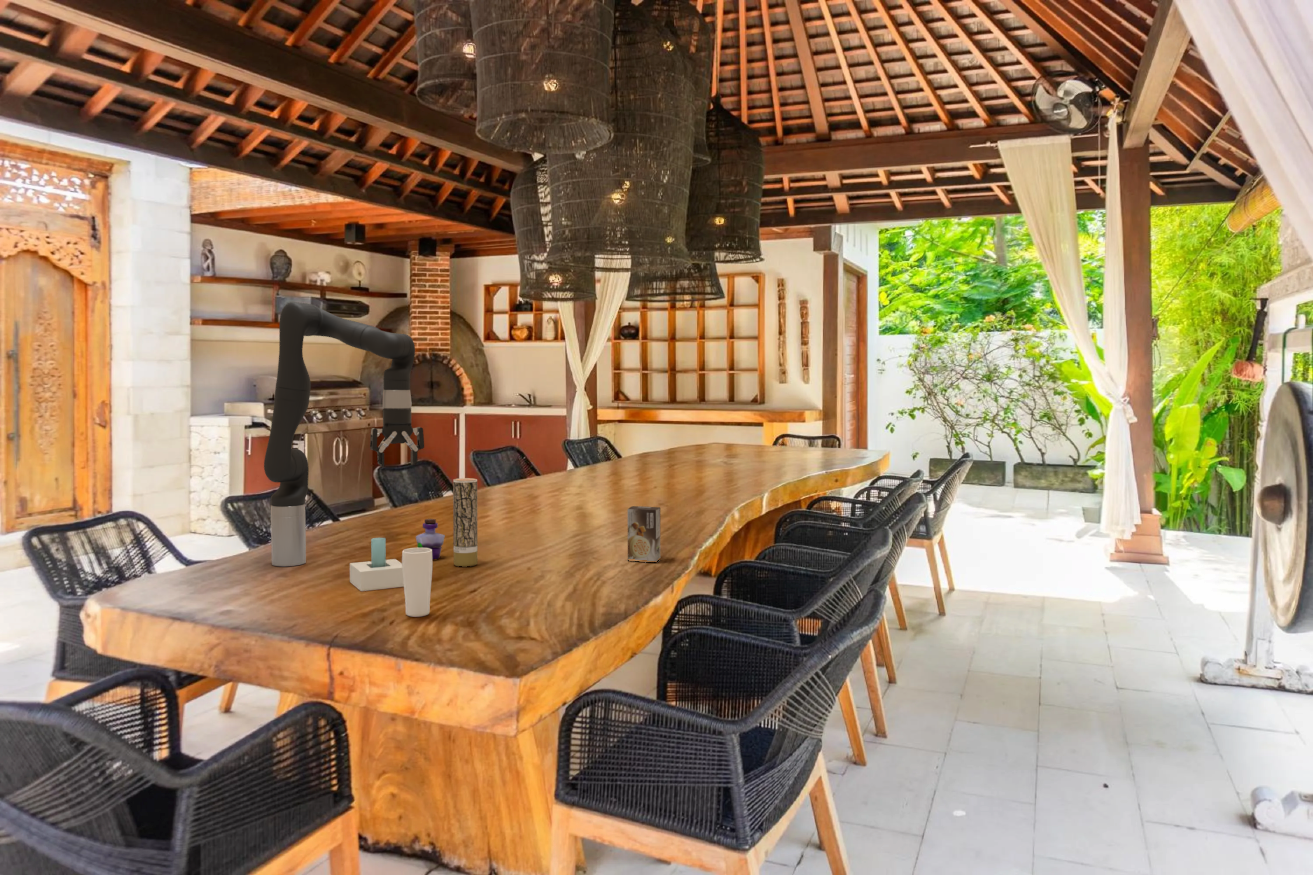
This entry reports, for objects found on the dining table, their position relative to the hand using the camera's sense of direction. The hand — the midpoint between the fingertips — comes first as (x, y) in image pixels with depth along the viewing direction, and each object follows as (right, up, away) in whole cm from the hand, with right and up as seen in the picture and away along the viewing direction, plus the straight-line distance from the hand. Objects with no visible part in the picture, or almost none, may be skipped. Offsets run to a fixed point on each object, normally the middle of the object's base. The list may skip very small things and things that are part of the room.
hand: (397, 465), depth 250 cm
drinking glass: (+16, -33, -40) cm, 55 cm away
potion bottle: (+3, -29, +23) cm, 37 cm away
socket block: (-2, -31, -11) cm, 33 cm away
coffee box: (+68, -30, +23) cm, 77 cm away
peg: (-2, -31, -11) cm, 33 cm away
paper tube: (+16, -30, +14) cm, 36 cm away
